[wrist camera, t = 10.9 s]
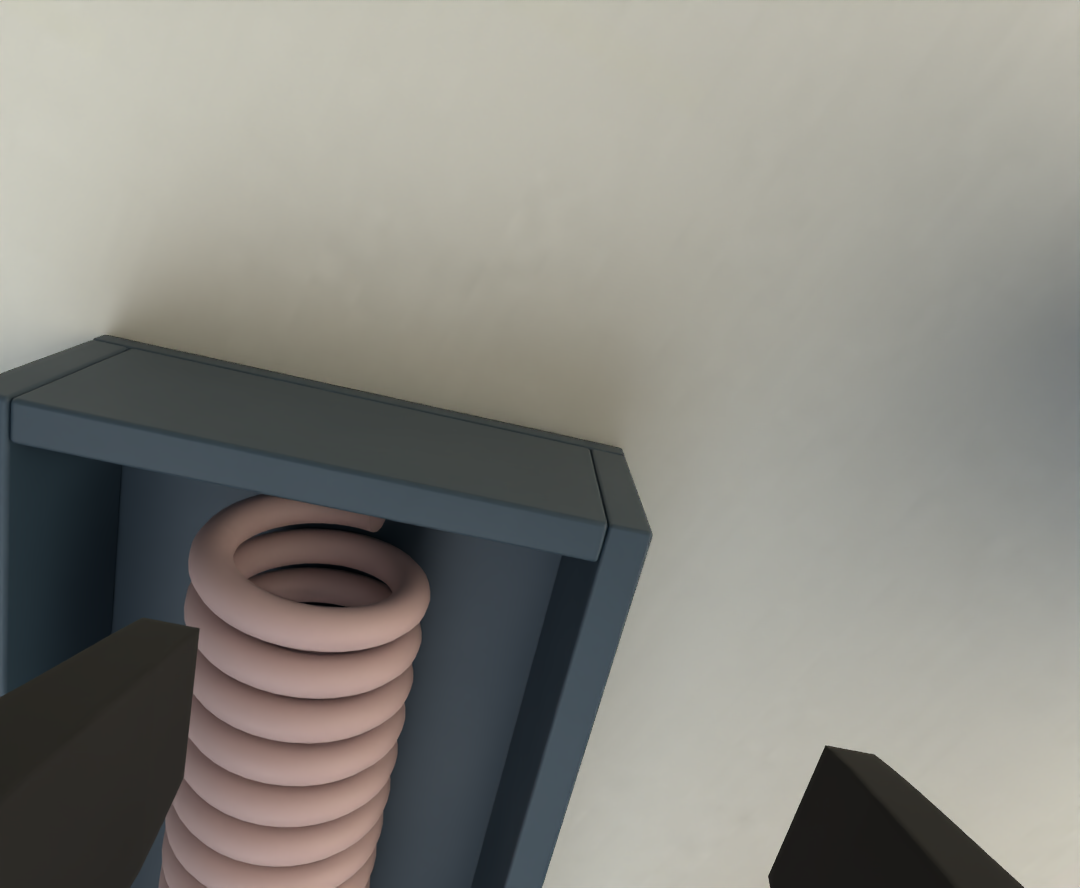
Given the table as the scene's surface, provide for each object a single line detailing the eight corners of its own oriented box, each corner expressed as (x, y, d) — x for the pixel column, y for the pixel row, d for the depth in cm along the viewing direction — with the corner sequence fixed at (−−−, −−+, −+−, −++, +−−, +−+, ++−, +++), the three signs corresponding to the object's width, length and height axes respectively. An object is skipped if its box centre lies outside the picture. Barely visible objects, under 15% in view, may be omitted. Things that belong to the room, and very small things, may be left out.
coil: (306, 1229, 19) (441, 607, 13) (102, 1234, 18) (153, 569, 12) (331, 1028, 23) (441, 496, 17) (169, 1024, 22) (229, 461, 17)
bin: (622, 447, 17) (654, 533, 13) (441, 1078, 24) (423, 1269, 20) (104, 333, 16) (-44, 386, 12) (68, 1027, 23) (-35, 1217, 19)
